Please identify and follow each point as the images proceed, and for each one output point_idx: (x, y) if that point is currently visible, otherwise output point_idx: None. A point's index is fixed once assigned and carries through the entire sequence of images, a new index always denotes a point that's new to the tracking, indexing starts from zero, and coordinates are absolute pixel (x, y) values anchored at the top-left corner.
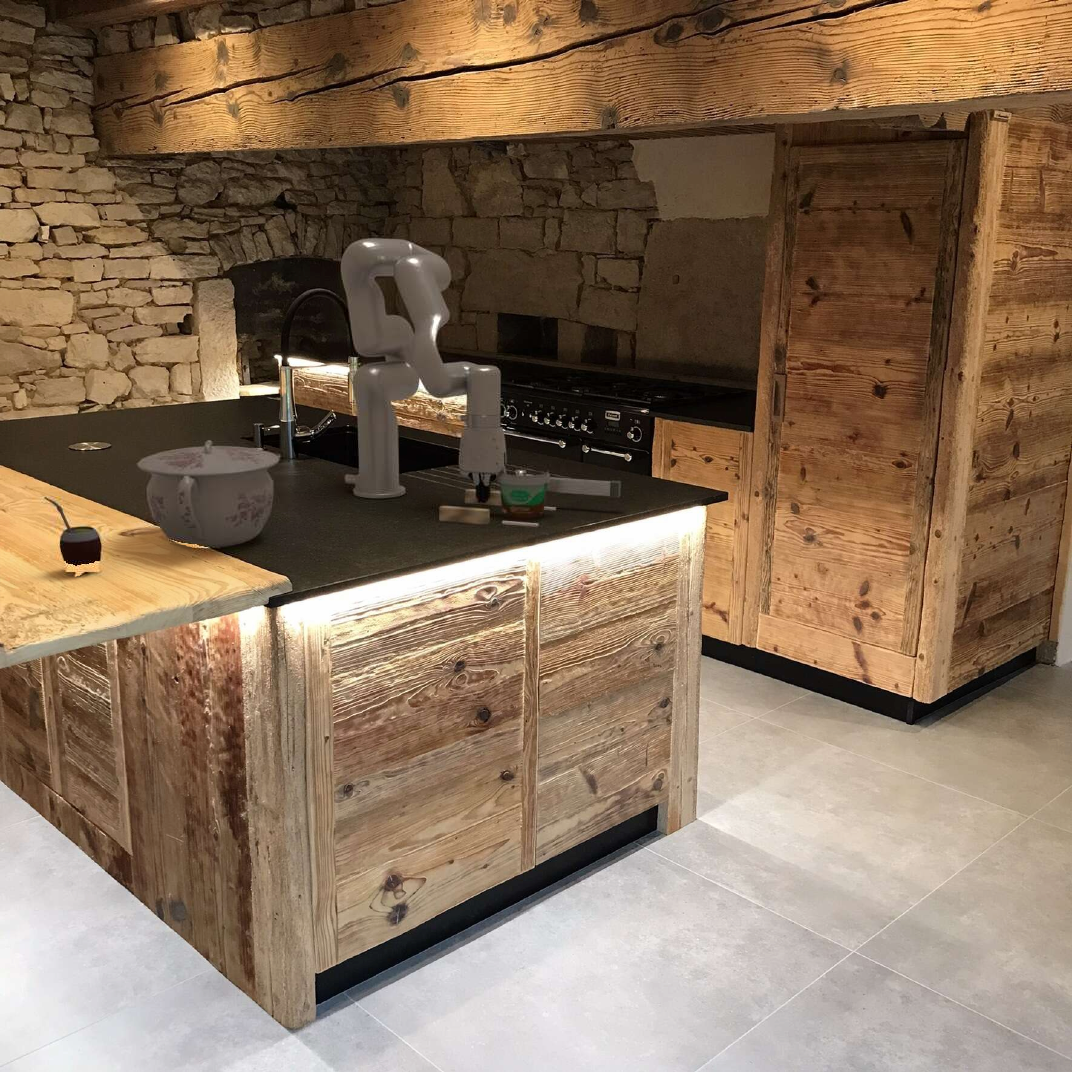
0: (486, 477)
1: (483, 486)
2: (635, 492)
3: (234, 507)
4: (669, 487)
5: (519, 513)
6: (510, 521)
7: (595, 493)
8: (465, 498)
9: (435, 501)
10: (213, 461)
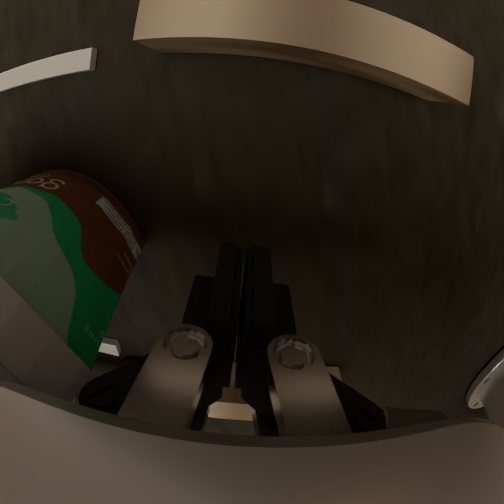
0: (172, 396)
1: (215, 316)
2: None
3: None
4: None
5: (35, 176)
6: (59, 73)
7: None
8: (340, 380)
9: (427, 357)
10: None
